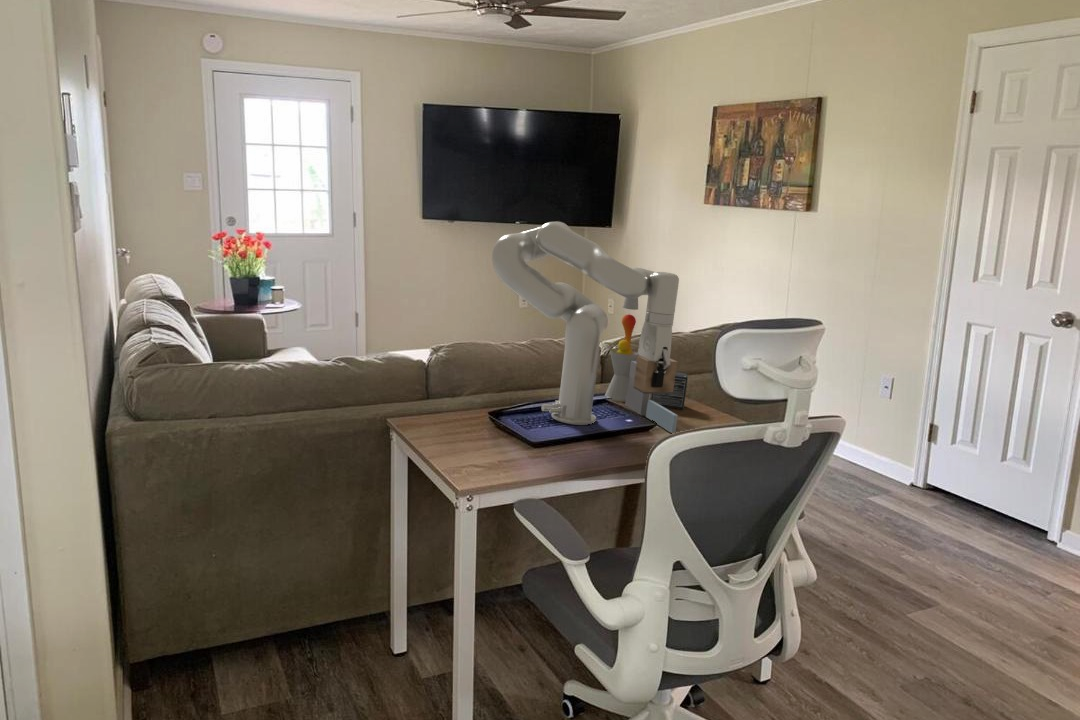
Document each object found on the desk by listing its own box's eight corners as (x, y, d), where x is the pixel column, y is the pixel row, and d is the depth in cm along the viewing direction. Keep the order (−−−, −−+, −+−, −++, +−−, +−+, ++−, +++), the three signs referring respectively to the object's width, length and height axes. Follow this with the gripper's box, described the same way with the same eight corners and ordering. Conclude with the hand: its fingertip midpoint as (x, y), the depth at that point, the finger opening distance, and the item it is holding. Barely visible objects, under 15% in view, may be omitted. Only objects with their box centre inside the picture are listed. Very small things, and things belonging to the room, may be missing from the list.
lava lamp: (609, 392, 263) (623, 285, 255) (635, 397, 259) (651, 289, 252) (600, 397, 255) (614, 287, 247) (627, 403, 251) (642, 291, 244)
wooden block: (643, 393, 217) (648, 361, 215) (633, 387, 222) (637, 355, 220) (672, 393, 220) (677, 361, 218) (661, 387, 226) (666, 356, 224)
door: (671, 433, 223) (674, 415, 222) (645, 416, 237) (648, 399, 236) (678, 432, 224) (681, 415, 223) (652, 416, 238) (655, 399, 237)
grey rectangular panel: (640, 415, 239) (647, 362, 236) (624, 405, 249) (631, 354, 245) (646, 415, 240) (653, 363, 237) (630, 405, 249) (637, 354, 246)
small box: (682, 404, 257) (687, 372, 255) (683, 410, 251) (688, 377, 249) (649, 400, 258) (653, 368, 256) (649, 405, 252) (654, 373, 250)
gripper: (632, 312, 223) (624, 375, 227) (663, 324, 207) (653, 392, 211) (656, 313, 226) (647, 375, 230) (688, 325, 210) (678, 392, 214)
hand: (650, 383), depth 220 cm, fingers closed on wooden block, 6 cm apart
